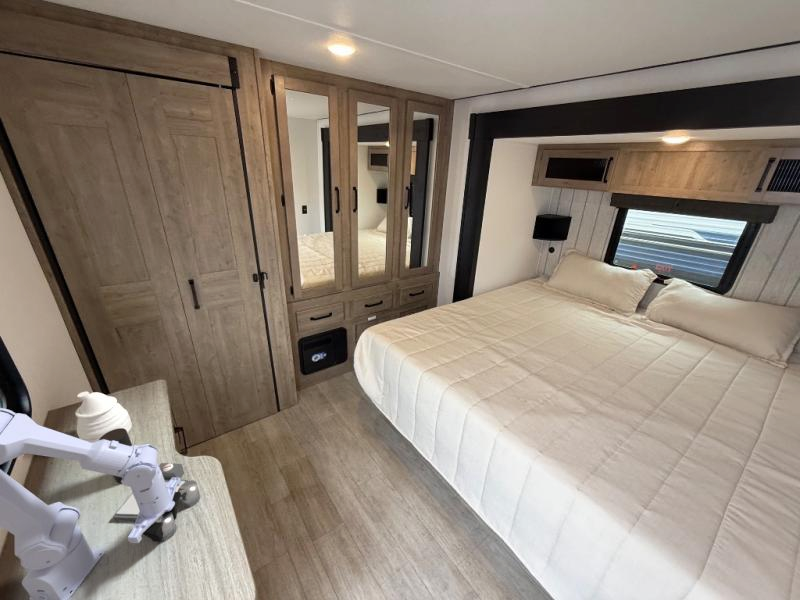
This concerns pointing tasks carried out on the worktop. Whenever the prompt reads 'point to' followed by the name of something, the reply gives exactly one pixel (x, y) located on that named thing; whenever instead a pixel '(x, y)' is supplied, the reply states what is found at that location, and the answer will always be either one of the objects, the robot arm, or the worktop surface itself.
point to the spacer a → (167, 525)
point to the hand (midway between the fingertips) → (164, 529)
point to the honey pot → (100, 416)
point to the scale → (130, 507)
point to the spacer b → (189, 494)
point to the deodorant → (121, 437)
